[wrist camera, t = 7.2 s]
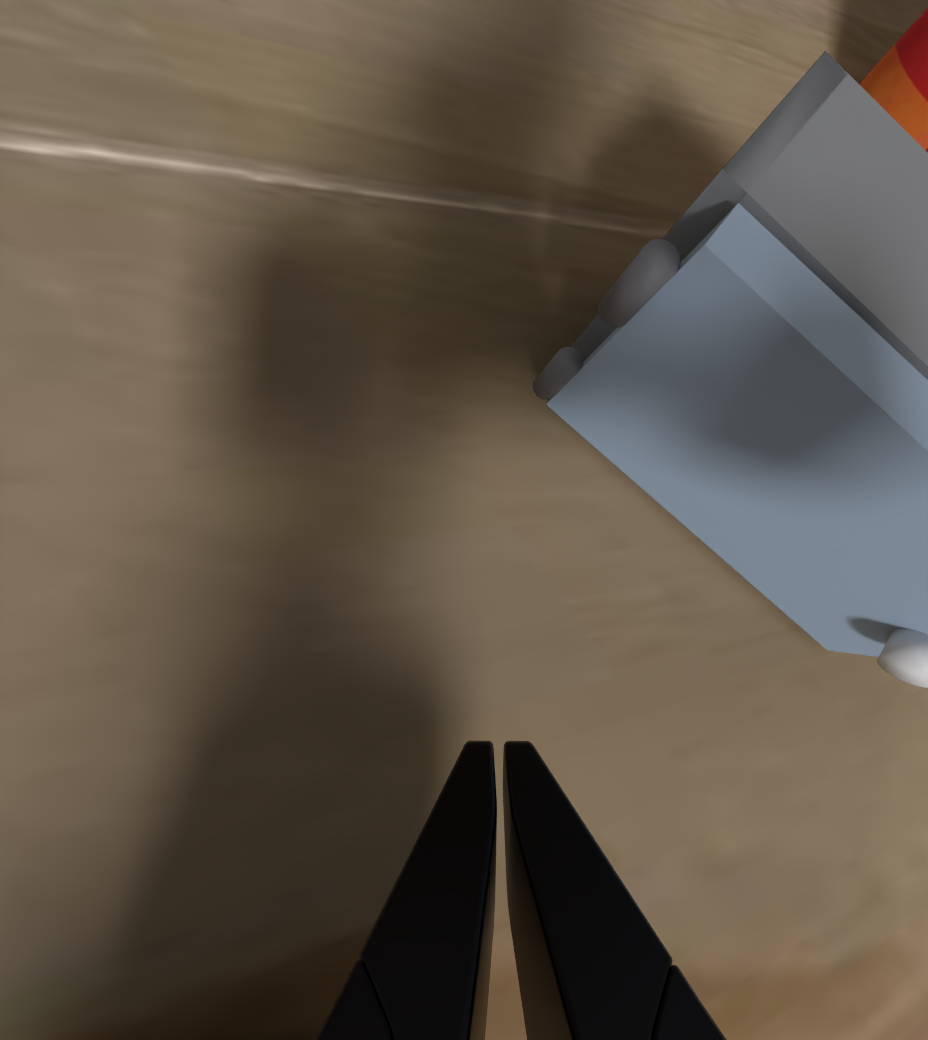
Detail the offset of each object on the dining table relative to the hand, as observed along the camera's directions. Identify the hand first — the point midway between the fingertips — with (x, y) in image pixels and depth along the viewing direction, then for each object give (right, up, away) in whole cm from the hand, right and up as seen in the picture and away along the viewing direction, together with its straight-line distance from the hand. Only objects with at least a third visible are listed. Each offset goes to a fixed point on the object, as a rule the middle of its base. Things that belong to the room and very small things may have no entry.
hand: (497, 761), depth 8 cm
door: (+9, +4, +13) cm, 16 cm away
